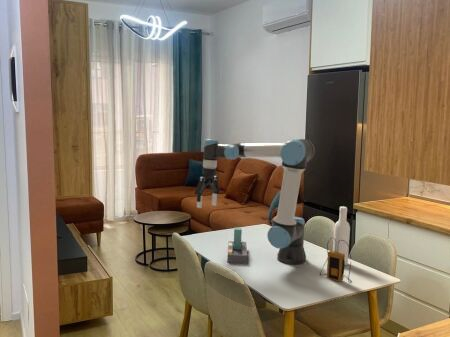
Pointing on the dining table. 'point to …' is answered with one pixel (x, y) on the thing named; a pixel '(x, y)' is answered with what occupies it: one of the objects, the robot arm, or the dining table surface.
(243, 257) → the switch housing
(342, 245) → the bottle
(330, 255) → the multimeter
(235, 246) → the switch knob
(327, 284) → the dining table surface
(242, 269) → the dining table surface
